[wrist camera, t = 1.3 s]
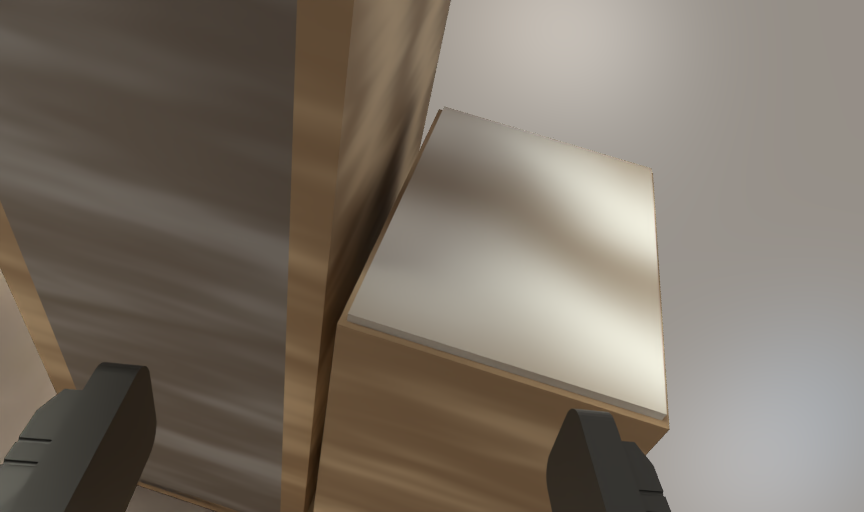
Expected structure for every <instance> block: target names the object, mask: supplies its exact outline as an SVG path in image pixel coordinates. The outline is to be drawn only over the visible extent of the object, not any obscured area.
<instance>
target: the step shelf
mask: <svg viewBox="0 0 864 512" xmlns="http://www.w3.org/2000/svg"><path fill="white" fill-rule="evenodd" d="M450 1H451V0H0V268H1V270H2V273H3V275H4V277H5V279H6V282H7V284H8V286H9V288H10V291H11V293H12V295H13V297H14V299H15V302H16V304H17V306H18V308H19V311H20V313H21V315H22V317H23V320H24V322H25V324H26V326H27V328H28V331H29V333H30V335H31V337H32V340H33V342H34V344H35V346H36V349H37V351H38V353H39V355H40V357H41V360H42V362H43V364H44V366H45V369H46V371H47V373H48V375H49V378H50V380H51V382H52V384H53V386H54V389H55V391H56V393H57V394H58V393H60V392H61V391H62V390H63V389H74V390H83V388H84V387H85V385H86V383H87V382H88V380H89V379H90V377H91V375H92V374H93V372H94V370H95V369H96V368H97V366H98V365H99V364H101V363H102V362H110V363H120V364H131V365H141V366H147V367H148V369H149V371H150V377H151V384H152V391H153V398H154V405H155V412H156V420H157V426H156V435H155V440H154V444H153V448H152V451H151V453H150V456H149V458H148V461H147V463H146V465H145V467H144V470H143V472H142V474H141V477H140V479H139V481H138V483H137V485H139V486H142V487H145V488H148V489H151V490H154V491H157V492H160V493H163V494H166V495H169V496H172V497H175V498H178V499H181V500H184V501H187V502H190V503H193V504H196V505H199V506H202V507H205V508H208V509H211V510H214V511H217V512H552V509H551V504H550V499H549V494H548V489H547V482H546V469H547V461H548V457H549V454H550V452H551V450H552V447H553V445H554V442H555V440H556V438H557V435H558V433H559V431H560V428H561V426H562V424H563V421H564V419H565V417H566V414H567V412H568V411H569V410H570V409H572V408H573V409H583V410H593V411H604V412H609V413H610V414H611V415H612V416H613V418H614V420H615V423H616V426H617V429H618V432H619V435H620V438H621V440H622V441H628V442H635V443H636V444H637V446H638V447H639V448H640V449H641V451H642V452H643V453H644V454H645V456H646V454H647V453H648V452H649V451H650V450H651V449H652V448H653V447H654V446H655V445H656V444H657V442H658V441H659V440H660V439H661V438H662V437H663V436H664V435H665V434H666V433H667V431H668V430H669V416H668V401H667V384H666V369H665V353H664V338H663V322H662V307H661V293H660V292H661V291H660V276H659V260H658V245H657V231H656V214H655V200H654V183H653V173H652V169H651V168H648V167H645V166H642V165H638V164H635V163H632V162H628V161H625V160H622V159H618V158H615V157H611V156H608V155H605V154H601V153H598V152H595V151H591V150H588V149H585V148H581V147H578V146H575V145H571V144H568V143H564V142H561V141H558V140H555V139H551V138H548V137H544V136H541V135H537V134H534V133H531V132H528V131H524V130H521V129H518V128H514V127H511V126H507V125H504V124H501V123H498V122H494V121H491V120H488V119H484V118H481V117H478V116H474V115H471V114H468V113H464V112H461V111H458V110H454V109H451V108H448V107H444V108H443V110H440V109H439V111H438V113H437V115H436V117H435V119H434V121H433V123H432V125H431V127H430V130H429V132H428V134H427V136H426V138H425V140H424V142H423V144H422V146H421V149H420V144H421V139H422V135H423V129H424V125H425V120H426V116H427V111H428V106H429V101H430V97H431V92H432V87H433V82H434V78H435V73H436V68H437V63H438V58H439V54H440V49H441V44H442V39H443V35H444V30H445V25H446V20H447V15H448V11H449V6H450ZM419 149H420V151H419Z"/></svg>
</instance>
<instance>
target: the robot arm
mask: <svg viewBox="0 0 864 512" xmlns="http://www.w3.org/2000/svg"><path fill="white" fill-rule="evenodd" d="M156 426H157V420H156V412H155V405H154V398H153V391H152V384H151V377H150V371H149V369H148V367H147V366H141V365H131V364H120V363H110V362H102V363H101V364H99V365H98V366H97V368H96V369H95V370H94V372H93V374H92V375H91V377H90V379H89V380H88V382H87V383H86V385H85V387H84V388H83V390H74V389H63V390H62V391H61V392H60V393H58V394H57V395H56V396H55V397H53V398H52V399H51V400H49V401H48V402H47V403H46V404H44V405H43V406H42V407H41V408H39V409H38V410H37V411H36V412H35V414H34V415H33V417H32V418H31V420H30V421H29V423H28V424H27V426H26V427H25V429H24V430H23V432H22V433H21V435H20V436H19V441H18V442H15V444H14V445H13V447H12V448H11V450H10V451H9V453H8V454H7V456H6V457H5V458H4V463H3V465H0V512H125V511H126V509H127V506H128V504H129V502H130V499H131V497H132V495H133V493H134V490H135V488H136V486H137V483H138V481H139V479H140V477H141V474H142V472H143V470H144V467H145V465H146V463H147V461H148V458H149V456H150V453H151V451H152V448H153V444H154V440H155V435H156ZM546 482H547V489H548V494H549V499H550V504H551V509H552V512H671V510H670V508H669V505H668V503H667V500H666V497H664V496H663V489H662V487H661V484H660V482H659V479H658V476H657V474H656V471H655V469H654V466H653V465H652V463H651V462H650V461H649V459H648V458H647V457H646V456H645V454H644V453H643V452H642V451H641V449H640V448H639V447H638V446H637V444H636V443H635V442H628V441H622V440H621V438H620V435H619V432H618V429H617V426H616V423H615V420H614V418H613V416H612V415H611V414H610V413H609V412H604V411H593V410H583V409H573V408H572V409H570V410H569V411H568V412H567V414H566V417H565V419H564V421H563V424H562V426H561V428H560V431H559V433H558V435H557V438H556V440H555V442H554V445H553V447H552V450H551V452H550V454H549V457H548V461H547V469H546Z"/></svg>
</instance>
